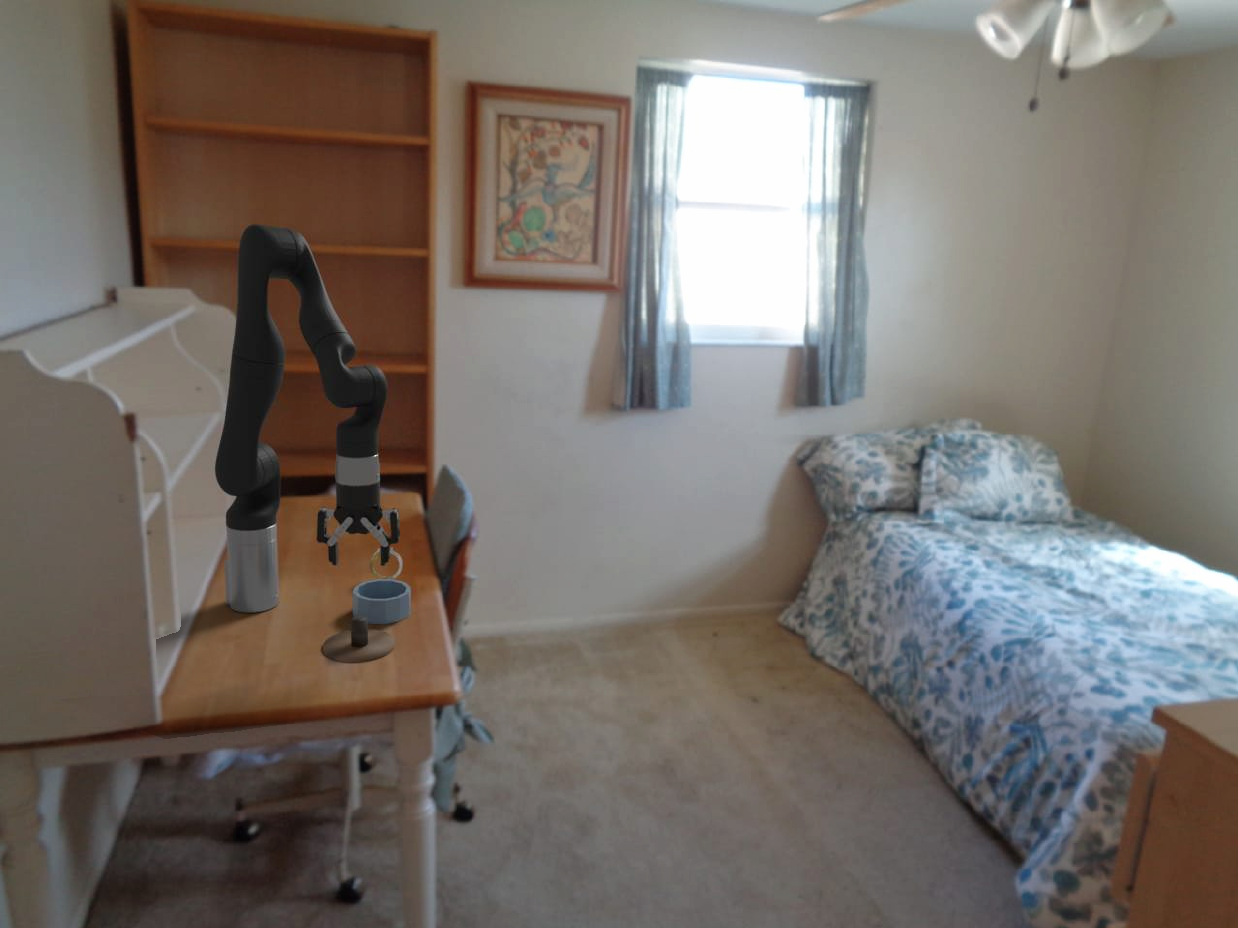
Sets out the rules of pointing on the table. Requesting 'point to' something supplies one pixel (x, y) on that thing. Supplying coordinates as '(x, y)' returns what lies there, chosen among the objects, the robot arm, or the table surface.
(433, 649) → the table surface
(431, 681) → the table surface
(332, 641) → the lid
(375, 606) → the bowl
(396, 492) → the table surface
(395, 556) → the ring
